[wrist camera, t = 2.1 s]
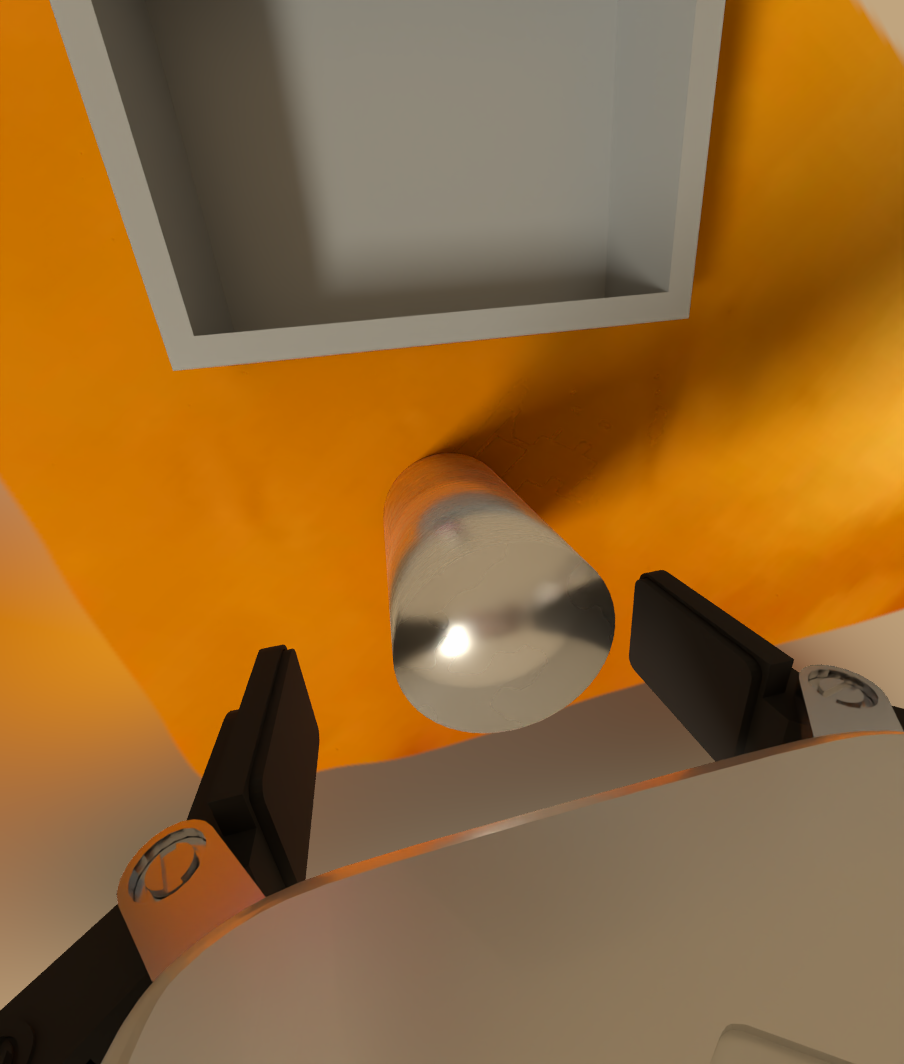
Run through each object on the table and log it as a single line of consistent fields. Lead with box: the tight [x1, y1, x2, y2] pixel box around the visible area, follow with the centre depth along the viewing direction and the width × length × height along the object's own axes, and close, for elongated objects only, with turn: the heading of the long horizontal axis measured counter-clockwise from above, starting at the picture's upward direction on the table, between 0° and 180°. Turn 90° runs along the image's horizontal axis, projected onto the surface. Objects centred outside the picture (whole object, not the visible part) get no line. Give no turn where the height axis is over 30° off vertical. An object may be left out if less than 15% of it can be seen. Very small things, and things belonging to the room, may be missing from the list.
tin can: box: [384, 453, 615, 733], centre depth 16 cm, size 6×6×10 cm
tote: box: [50, 0, 726, 371], centre depth 13 cm, size 16×11×5 cm
